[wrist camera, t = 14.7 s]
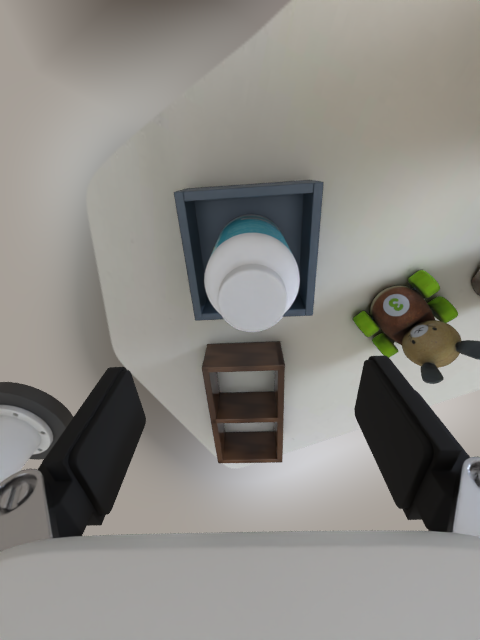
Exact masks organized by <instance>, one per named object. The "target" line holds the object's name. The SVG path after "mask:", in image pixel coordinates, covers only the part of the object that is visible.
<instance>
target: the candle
mask: <svg viewBox="0 0 480 640" xmlns="http://www.w3.org/2000/svg"><path fill="white" fill-rule="evenodd" d="M472 286H473V289H474V290H475V292H476V293H477V294H478V295H480V269H479V271H478V272H477V274H476V275H475V276H474V277H473V279H472Z"/></svg>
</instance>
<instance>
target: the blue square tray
mask: <svg viewBox="0 0 480 640" xmlns="http://www.w3.org/2000/svg"><path fill="white" fill-rule="evenodd" d="M322 194H323V182H321V181H314V180H303V181H288V182H274V183H260V184H245V185H231V186H217V187H202V188H188V189H183V190H180V191H176V192H174V197H175V202H176V208H177V214H178V220H179V226H180V232H181V238H182V244H183V250H184V256H185V262H186V268H187V274H188V280H189V286H190V292H191V298H192V304H193V310H194V316H195V320H216V319H223V317H222V316H221V314H219V313H218V312H217V311H216V309H215V308H214V307H213V306H212V304H211V302H210V301H209V299H208V296H207V293H206V290H205V285H204V276H205V270H206V266H207V264H208V261H209V259H210V256H211V254H212V252H213V249H214V247H215V244H216V242H217V240H218V237H219V235H220V233H221V231H222V230H223V228H224V227H225V226H226V225H227V224H228V223H229V222H230V221H232V220H233V219H235V218H237V217H239V216H242V215H248V214H254V215H260V216H263V217H266V218H268V219H269V220H271V221H272V222H273V223H274V224H275V225H276V226H277V227H278V228H279V229H280V231H281V233H282V234H283V236H284V238H285V241H286V243H287V245H288V246H289V248H290V250H291V252H292V254H293V256H294V258H295V260H296V263H297V266H298V269H299V276H300V284H299V290H298V293H297V296H296V298H295V300H294V302H293V304H292V305H291V306H290V308H289V309H288V310H287V311H286V312H285V313H284V315H283V316H282V317H287V316H310V315H313V305H314V293H315V280H316V268H317V256H318V243H319V231H320V219H321V207H322Z"/></svg>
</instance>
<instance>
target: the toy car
mask: <svg viewBox="0 0 480 640" xmlns="http://www.w3.org/2000/svg"><path fill="white" fill-rule="evenodd" d="M408 282H409V284H410V285H411V286H412V287H413V289H411V288H409V287H406V286H393V287H389V288H387V289H385V290H383V291H381V292H380V293H379V294H378V295H377V296H376V297H375V298H374V300H373V302H372V304H371V312H370V314H371V316H369V315H368V314H367V313H366V312H365V311H362V312H360V313H359V314H358V315H356V316H355V317H354V318H353V321H354V322H355V324H356V325H357V326H358V328H359V329H360V330H361V331H362V332H363V333H364V334H365V335H366V336H367V337H370V336H372V335H373V334H375V333H377V332H378V331H379V330H380V329H381V330H382V331H383V332H384V333H385V334H384V333H380V334H379V335H377V336H376V337H374V338H373V339H372V341H373V343H374V344H375V345H376V347H377V348H378V349H379V350H380V352H381V353H382V354H383V355H384V356H387V357H388V358H389V357H391V356H392V355H394V354H396V353H397V352H398V349H397V348H396V347H395V345H394V342H397V343H399V344H401V345H402V348H403V351H404V353H405V355H406V356H407V358H409V359H410V360H411V361H412V362H414V363H415V364H417V365H420V366H421V376H422V379H423V381H424V382H426V383H430V384H435V383H439V382H441V381H442V380H443V376H442V374H441V372H440V371H439V370H438V367H443V366H446V365H448V364H450V363H451V362H453V361H454V360H455V359H456V358H457V357H458V355H459V354H460V353H461V354H464V355H467V356H469V357H472V358H475V359H480V341H470V340H467V341H461V338H460V335H459V333H458V332H457V331H456V330H455V329H454V328H453V327H452V326H450V325H449V324H447V322H449V321H451V320H452V319H454V318H456V317H457V316H458V312H457V310H456V309H455V307H454V306H453V305H452V304H451V303H450V302H449V301H448V300H446V299H445V298H443V297H441V296H438V297H436V298H434V299H433V300H431V301H430V302H428V303H427V302H426V301H425V300H424V298H429V297H430V296H432V295H433V294H435V293H436V292H438V291H439V290H440V286H439V284H438V283H437V281H436V280H435V279H434V278H433V277H432V276H431V275H430V274H429V273H427V272H426V271H424V270H419V271H418V272H416V273H415V274H413V275H412V276H411V277H409V279H408ZM434 316H435V317H436V318H437V319H438V320H439V321H435V318H434Z"/></svg>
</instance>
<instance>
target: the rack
mask: <svg viewBox="0 0 480 640" xmlns="http://www.w3.org/2000/svg"><path fill="white" fill-rule="evenodd" d="M268 370H274V392H245V393H220V392H219V385H218V377H217V372H236V371H268ZM202 372H203V377H204V383H205V389H206V395H207V401H208V406H209V412H210V418H211V424H212V430H213V436H214V441H215V447H216V453H217V459H218V463H266V462H282V453H283V413H284V374H285V364H284V358H283V353H282V348H281V343H280V342H254V343H227V344H207V348H206V352H205V356H204V361H203V365H202ZM253 422H274V432H229V433H225V428H224V423H253Z"/></svg>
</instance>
